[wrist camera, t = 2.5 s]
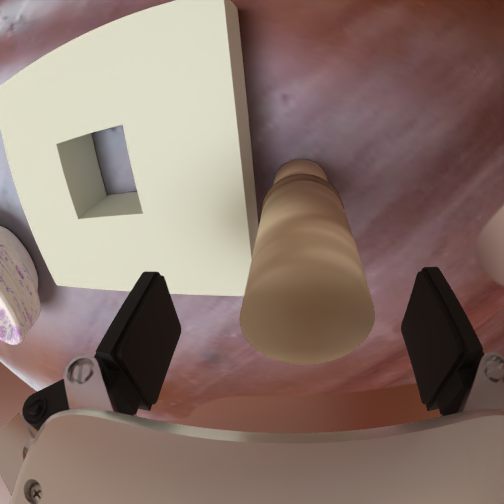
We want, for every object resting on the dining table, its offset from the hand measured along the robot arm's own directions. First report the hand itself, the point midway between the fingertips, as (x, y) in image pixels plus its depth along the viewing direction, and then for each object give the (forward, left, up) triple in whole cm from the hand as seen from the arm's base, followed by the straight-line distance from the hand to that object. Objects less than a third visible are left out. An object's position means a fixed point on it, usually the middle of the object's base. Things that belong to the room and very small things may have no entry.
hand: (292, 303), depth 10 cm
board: (+11, -3, -11) cm, 16 cm away
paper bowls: (+33, +6, -11) cm, 36 cm away
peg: (-1, 0, -11) cm, 11 cm away
